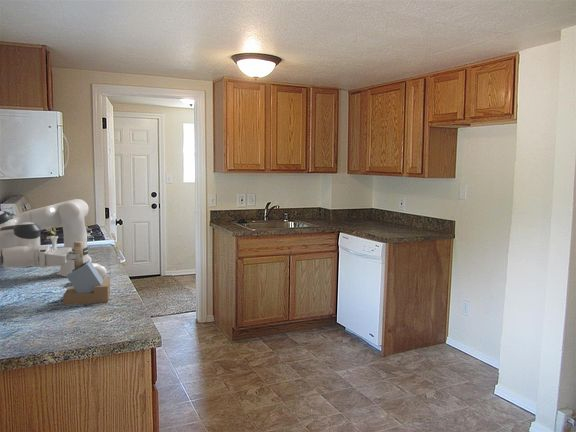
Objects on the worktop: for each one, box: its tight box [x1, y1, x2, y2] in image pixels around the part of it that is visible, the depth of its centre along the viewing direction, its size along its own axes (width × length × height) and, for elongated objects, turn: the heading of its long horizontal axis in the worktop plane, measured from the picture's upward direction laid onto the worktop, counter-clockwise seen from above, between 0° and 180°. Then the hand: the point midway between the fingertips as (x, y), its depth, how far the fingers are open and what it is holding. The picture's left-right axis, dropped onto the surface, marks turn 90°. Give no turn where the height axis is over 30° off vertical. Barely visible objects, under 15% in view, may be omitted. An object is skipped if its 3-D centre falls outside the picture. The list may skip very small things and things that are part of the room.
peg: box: [74, 242, 83, 270], centre depth 199 cm, size 3×3×12 cm
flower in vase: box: [45, 227, 59, 248], centre depth 278 cm, size 13×11×25 cm
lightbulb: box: [95, 264, 108, 279], centre depth 218 cm, size 6×6×11 cm
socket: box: [62, 260, 111, 306], centre depth 201 cm, size 14×17×16 cm
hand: (80, 254), depth 199 cm, fingers closed on peg, 3 cm apart
